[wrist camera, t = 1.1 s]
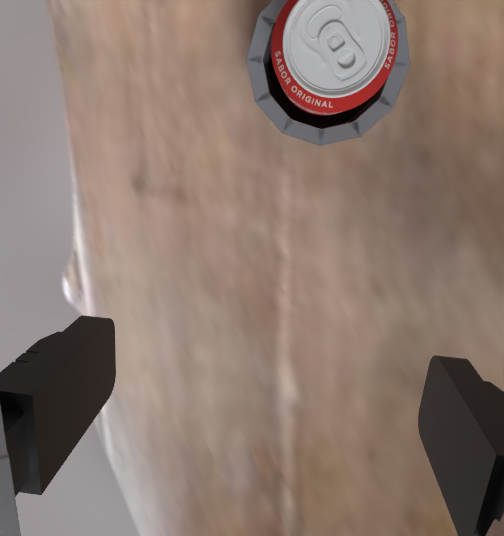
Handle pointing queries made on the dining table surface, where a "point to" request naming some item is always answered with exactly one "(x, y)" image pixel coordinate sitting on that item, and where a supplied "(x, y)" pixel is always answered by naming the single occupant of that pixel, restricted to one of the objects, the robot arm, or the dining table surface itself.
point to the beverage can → (333, 52)
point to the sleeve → (340, 132)
